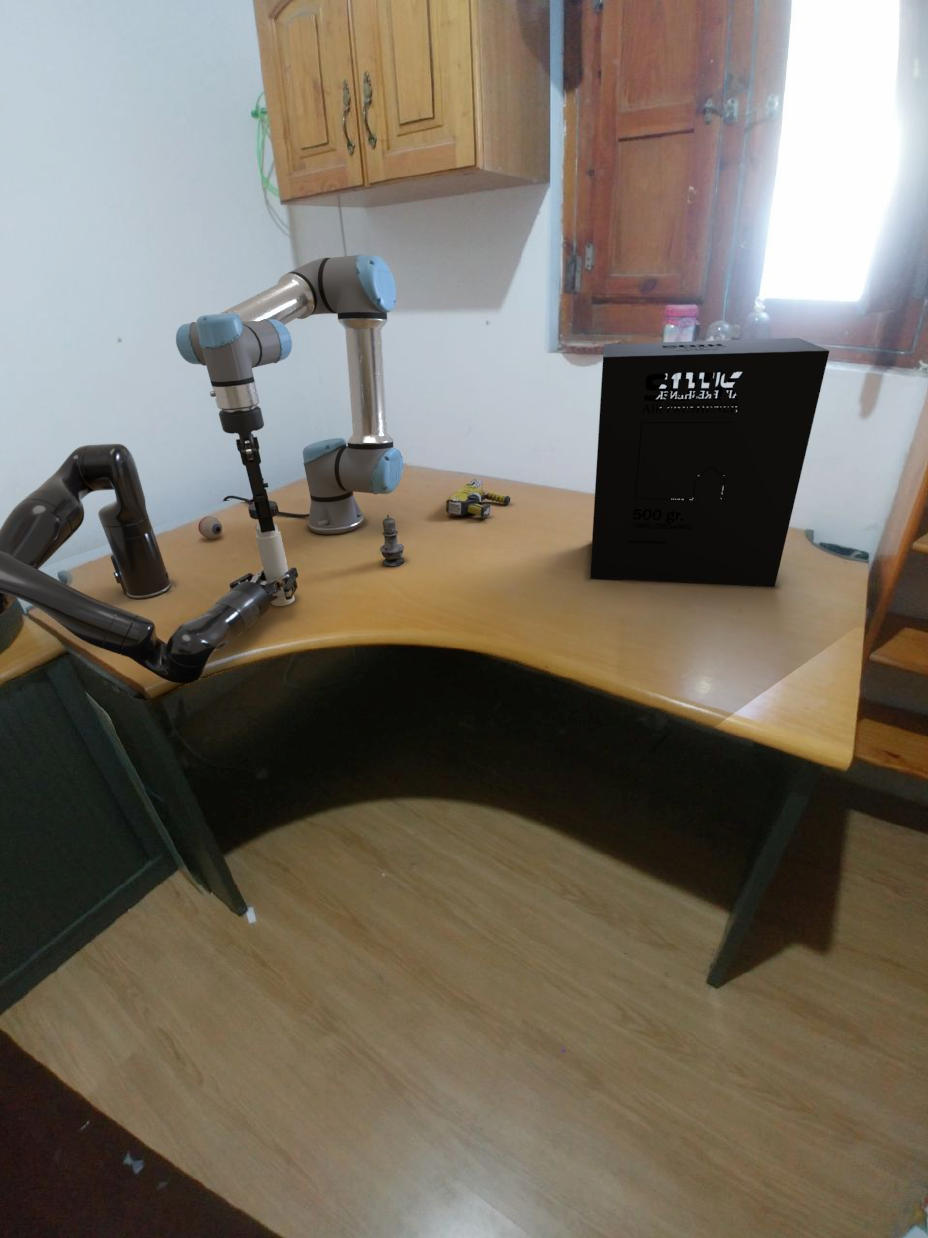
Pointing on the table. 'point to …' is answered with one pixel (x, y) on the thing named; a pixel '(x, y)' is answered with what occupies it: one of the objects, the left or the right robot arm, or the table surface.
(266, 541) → the jar
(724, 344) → the cardboard box
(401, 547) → the grey stepped tapered figure
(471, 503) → the toy gun
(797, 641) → the table surface
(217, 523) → the eyeball
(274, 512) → the lid
